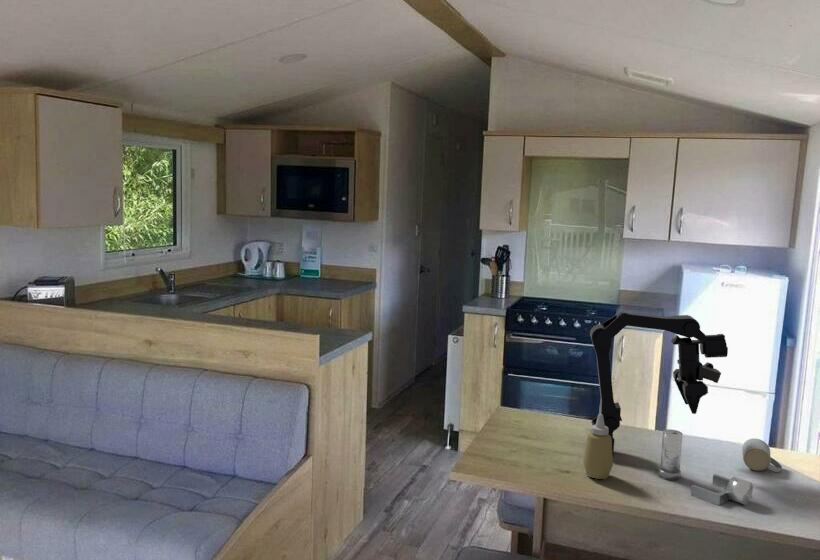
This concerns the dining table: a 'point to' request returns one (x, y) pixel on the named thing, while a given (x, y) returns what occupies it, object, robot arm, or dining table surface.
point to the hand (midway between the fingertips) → (690, 408)
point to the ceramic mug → (759, 456)
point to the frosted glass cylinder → (671, 455)
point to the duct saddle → (734, 490)
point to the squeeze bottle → (598, 451)
